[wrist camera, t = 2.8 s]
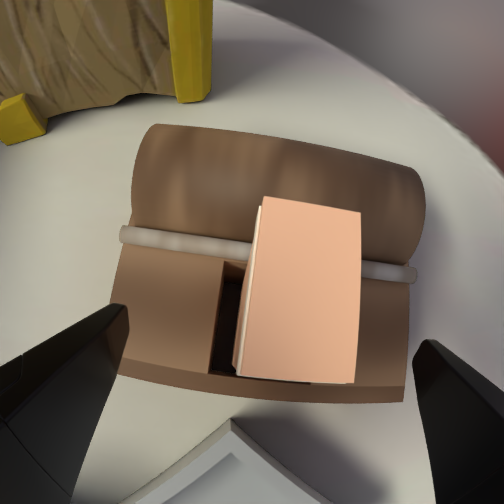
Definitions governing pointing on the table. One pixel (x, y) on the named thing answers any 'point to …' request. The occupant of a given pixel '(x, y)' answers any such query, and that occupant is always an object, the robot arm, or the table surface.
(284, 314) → the peach block
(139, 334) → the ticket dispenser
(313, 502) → the tray
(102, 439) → the table surface
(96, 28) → the decorative book
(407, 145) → the table surface
